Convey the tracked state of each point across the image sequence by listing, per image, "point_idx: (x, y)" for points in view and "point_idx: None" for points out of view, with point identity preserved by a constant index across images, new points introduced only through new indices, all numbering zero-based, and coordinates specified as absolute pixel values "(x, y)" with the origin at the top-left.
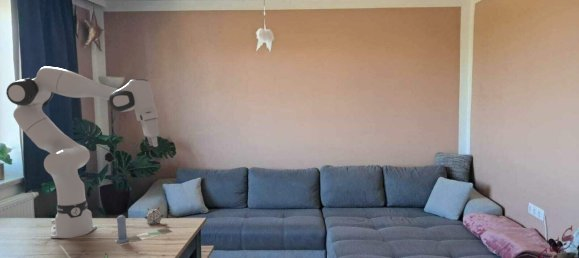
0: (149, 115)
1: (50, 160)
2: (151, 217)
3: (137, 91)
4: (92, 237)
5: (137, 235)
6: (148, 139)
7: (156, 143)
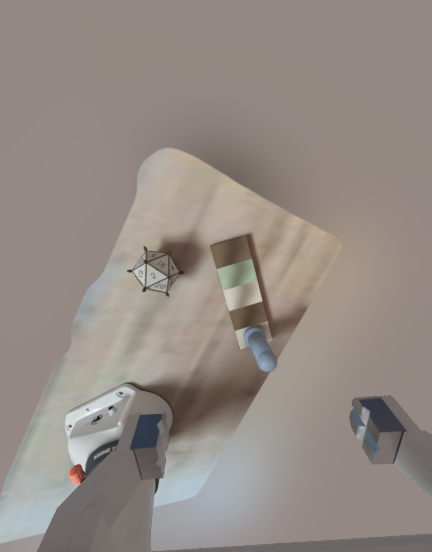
0: None
1: None
2: (173, 280)
3: None
4: (185, 385)
5: (232, 308)
6: (114, 518)
7: (409, 427)
